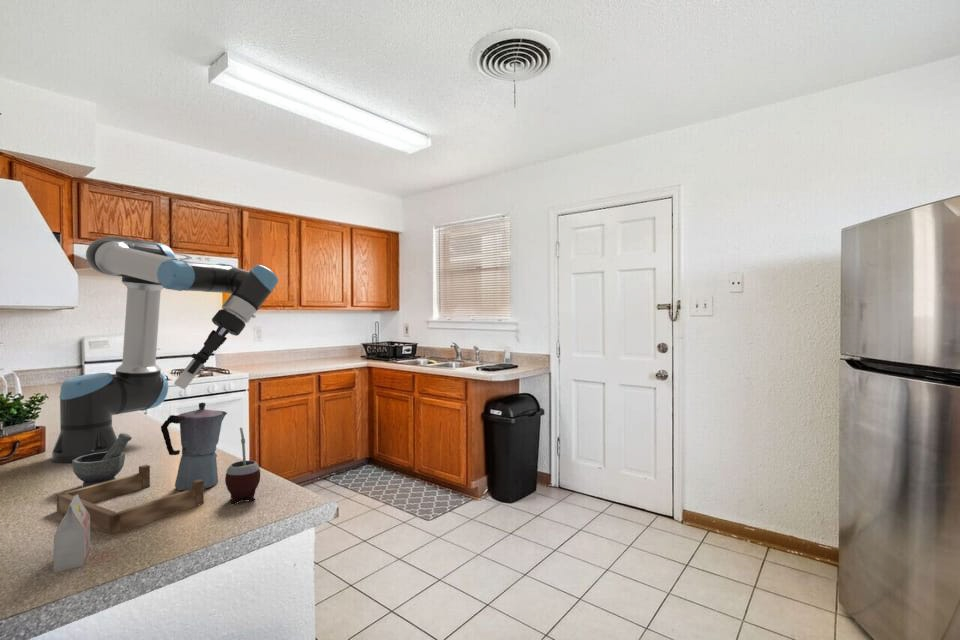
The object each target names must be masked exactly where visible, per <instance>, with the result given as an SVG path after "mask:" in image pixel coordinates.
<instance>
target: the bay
mask: <svg viewBox="0 0 960 640" xmlns="http://www.w3.org/2000/svg"><path fill="white" fill-rule="evenodd" d="M150 468H151V465H149V464H144V465H139V466H138V472H137V473H134V474H130V475H126V476H123V477H118V478H115V479H114V480H110V481H106V482H103V483H99V484H95V485H91V486H87V487H84V488H82V487H80V488H77V489H74V490H73V489H72V490H70V491H65V492H61V493H58V494H56V512H57V511H58V513H60V514H63V515H64V516H65V515H66V513H67V510H68V507H69V505H70V503H71V502H72V500H73V498H74V496H75V494H76V495H77V494H78V495H79V498H80V500H81V502H82V504H83V506H84V507H85V509H86V510H87V512H88V513H89V514H90V527H94V528H95V529H97V530H101V531H103V532H105V533H107V534H110V535H112V536H113V535H116V534H119V533H121V532H124V531H128V530H130V529H134V528H135V527H138V526H141V525H145V524H147V523H151V522H152V521H156V520H158V519H162V518H164V517H168V516H170V515H172V514H175V513H178V512H180V511H181V512H182V511H184V510H187V509H190V508H192V507H195V505H197V506H199V504H200V505H202V504H204V503H205V501H204V500H205V499H204V498H205V497H204V496H205V494H204V493H205V490H204V480H201V479H198V480H195V481H192V489H189V490H182V491H180V492H177V493H174V494H169V495H168V496H165V497H161V498H158V499H155V500H152V501H149V502H145V503H142V504H140V505H136V506H133V507H129V508H127V509H123V510H121V511H117V512H116V511H114V510H111V509H108V508H105V507H103V506H101V505H97V504H95V503H96V502H100V501H103V499H104V500H106V499H107V500H108V499H110V497H111V498H113V497H116V496H117V497H118V496H120V495H124V494H128V493H131V492H134V491H138V490H142V489H145V488H149V487H150V486H151V484H150V483H151V469H150Z"/></svg>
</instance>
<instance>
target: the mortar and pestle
mask: <svg viewBox="0 0 960 640" xmlns="http://www.w3.org/2000/svg"><path fill="white" fill-rule="evenodd" d="M117 436H118V437H117V440H116V442H115V443H114V444H113V446H112V447H111V448H110V450H109V451H108V452H100V453H93V454H89V455H84V456H80V457H78V458H76V459H74V460H72V462H71V463H72V464H71V465H72V466H71V467H72V470H73V474H74V475H75V476H76V478H77V479H79V480H81V482H82V487H81V488H84V487H87V486H91V485H95V484H99V483H103V482H106V481H110V480H114V479H116V476H117V475H118V474H119V473H120V472H121V471H122V468H124V465H125V460H126V457H125V456H126V455H125V454H126V453H124V450H125V448H126V446H127V444H128V443H129V442H130V441H132V436H131V435H130V434H128V433H124V432H121V433H119V434H118V435H117Z"/></svg>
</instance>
